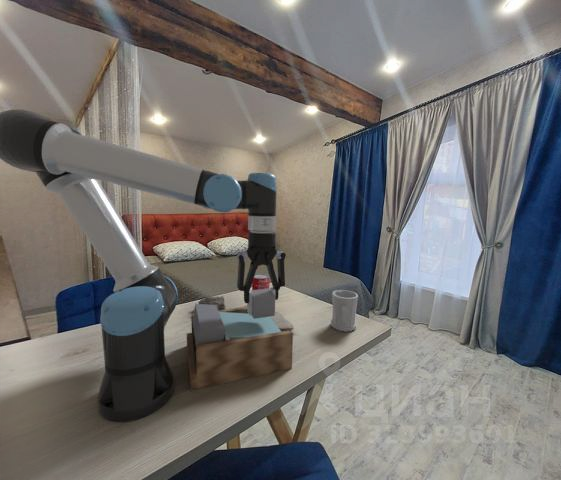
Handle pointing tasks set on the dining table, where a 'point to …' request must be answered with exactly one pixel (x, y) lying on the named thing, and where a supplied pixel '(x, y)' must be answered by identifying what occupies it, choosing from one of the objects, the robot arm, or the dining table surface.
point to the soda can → (260, 282)
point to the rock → (214, 302)
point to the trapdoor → (227, 325)
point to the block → (263, 303)
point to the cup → (344, 310)
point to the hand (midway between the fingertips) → (261, 311)
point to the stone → (282, 322)
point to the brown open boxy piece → (237, 357)
